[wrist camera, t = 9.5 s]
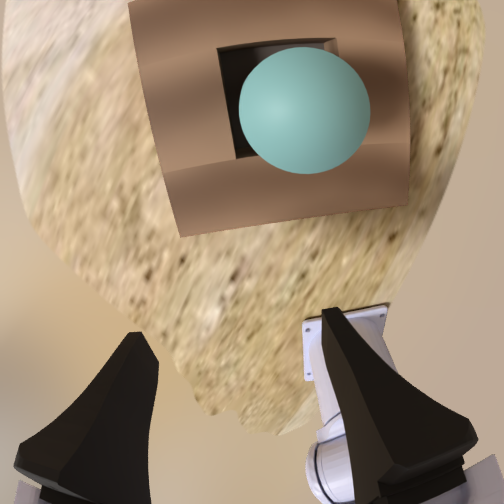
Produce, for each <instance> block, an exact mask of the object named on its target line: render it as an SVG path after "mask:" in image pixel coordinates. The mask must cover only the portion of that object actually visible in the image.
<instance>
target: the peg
mask: <svg viewBox="0 0 504 504" xmlns="http://www.w3.org/2000/svg"><path fill="white" fill-rule="evenodd" d="M239 117H240V123H241V126H242V130H243V132H244V135H245V137H246V139H247V140H248V142H249V144H250V145H251V147H252V148H253V149H254V150H255V152H256V153H257V154H258V155H259V156H261V157H262V158H263V159H264V160H265V161H267V162H268V163H270V164H271V165H273V166H275V167H277V168H279V169H282V170H285V171H288V172H292V173H299V174H313V173H320V172H324V171H327V170H330V169H333V168H335V167H337V166H339V165H340V164H342V163H343V162H345V161H346V160H347V159H349V158H350V157H351V156H352V155H353V154H354V153H355V152H356V151H357V149H358V148H359V147H360V145H361V144H362V142H363V140H364V138H365V136H366V133H367V130H368V127H369V122H370V102H369V97H368V94H367V90H366V88H365V86H364V84H363V82H362V80H361V78H360V77H359V75H358V74H357V73H356V72H355V70H354V69H353V68H352V67H351V66H350V65H349V64H348V63H346V62H345V61H344V60H342V59H341V58H339V57H338V56H336V55H334V54H332V53H330V52H327V51H324V50H321V49H316V48H309V47H296V48H290V49H286V50H282V51H279V52H277V53H275V54H273V55H271V56H269V57H268V58H266V59H265V60H263V61H262V62H261V63H260V64H259V65H257V66H256V67H255V68H254V70H253V71H252V72H251V73H250V74H249V75H248V76H247V78H246V80H245V81H244V84H243V87H242V90H241V95H240V102H239Z"/></svg>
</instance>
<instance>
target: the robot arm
mask: <svg viewBox="0 0 504 504" xmlns="http://www.w3.org/2000/svg"><path fill="white" fill-rule="evenodd" d="M387 311H388V309H387V307H386V306H385V305H381V306H376V307H372V308H367V309H362V310H357V311H352V312H347V313H342V311H341V310H340V308H338V307H333V308H328V309H322V317H320V318H314V319H308V320H305V321H303V323H302V336H303V357H304V379H305V380H306V381H313V380H314V383H315V388H316V392H317V397H318V402H319V407H320V412H321V417H322V422H323V428H321V429H319V430H317V431H316V433H317V438H318V441H317V442H315V443H313V444H312V445H311V447H310V449H309V452H308V455H307V458H306V476H307V480H308V483H309V486H310V488H311V490H312V492H313V494H314V495H315V496H316V497H317V499H318V500H320V501H321V502H322V503H323V504H504V479H503V476H502V473H501V470H500V468H499V465H498V462H497V459H496V457H495V454H492V455H490V456H489V457H487V458H485V459H484V460H482V461H480V462H478V463H477V464H475V465H473V466H471V467H469V468H468V469H466V470H464V471H463V468H462V465H463V464H464V459H463V455H464V454H465V453H466V452H467V451H469V450H470V449H471V448H472V447H473V446H475V444H476V443H477V441H478V437H477V434H476V432H475V430H474V428H473V426H472V424H471V422H470V421H469V419H468V418H466V417H464V416H462V415H460V414H458V413H456V412H454V411H452V410H450V409H448V408H446V407H445V406H443V405H441V404H440V403H438V402H436V401H434V400H433V399H432V398H430V397H428V396H427V395H426V394H424V393H423V392H421V391H420V390H418V389H417V388H416V387H414V386H412V384H410V383H409V382H407V381H406V380H405V379H404V378H403V377H401V376H400V375H399V374H398V372H397V370H396V367H395V365H394V362H393V360H392V358H391V355H390V353H389V351H388V349H387V346H386V344H385V342H384V340H383V337H382V335H383V330H384V326H385V321H386V316H387ZM307 328H309V329H307ZM158 371H159V361H158V360H157V358H156V356H155V355H154V353H153V351H152V350H151V348H150V346H149V344H148V343H147V341H146V339H145V337H144V335H143V334H142V332H129V333H128V334H127V335H126V337H125V338H124V339H123V340H122V342H121V343H120V345H119V346H118V348H117V349H116V350H115V351H114V353H113V354H112V356H111V357H110V358H109V360H108V361H107V362H106V364H105V365H104V366H103V368H102V369H101V370H100V372H99V373H98V374H97V375H96V377H95V378H94V379H93V380H92V382H91V383H90V384H89V385H88V387H87V388H86V389H85V390H84V391H83V393H82V394H81V395H80V396H79V397H78V398H77V399H76V400H75V401H74V402H73V403H72V404H71V405H70V406H69V407H68V408H67V409H66V410H65V411H64V412H63V413H62V414H61V415H60V416H58V417H57V418H56V419H55V420H54V421H53V422H52V423H50V424H49V425H48V426H46V427H45V428H44V429H42V430H41V431H40V432H38V433H37V434H35V435H34V436H32V437H30V438H29V439H27V440H25V441H24V442H23V443H20V445H19V448H18V452H17V455H16V459H15V462H14V468H15V469H16V470H17V471H18V472H20V473H22V474H23V475H25V476H27V477H28V478H30V479H32V480H34V481H35V482H37V483H39V484H41V485H42V488H41V489H39V488H37V487H34V486H32V485H30V484H28V483H26V482H23V481H21V480H19V482H18V487H17V492H16V496H15V501H14V504H151V497H150V489H149V475H148V440H149V429H150V422H151V417H152V412H153V406H154V401H155V396H156V390H157V384H158Z"/></svg>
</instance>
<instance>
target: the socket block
mask: <svg viewBox="0 0 504 504" xmlns="http://www.w3.org/2000/svg"><path fill="white" fill-rule="evenodd" d="M128 8H129V14H130V21H131V28H132V34H133V40H134V46H135V51H136V57H137V62H138V68H139V73H140V78H141V83H142V88H143V93H144V97H145V102H146V107H147V111H148V116H149V120H150V125H151V129H152V133H153V137H154V142H155V146H156V150H157V154H158V158H159V162H160V166H161V170H162V173H163V177H164V181H165V185H166V188H167V192H168V196H169V199H170V203H171V207H172V210H173V214H174V217H175V221H176V224H177V227H178V231H179V234H180V238H181V237H187V236H193V235H199V234H205V233H211V232H217V231H224V230H230V229H236V228H243V227H249V226H256V225H262V224H269V223H276V222H283V221H290V220H297V219H304V218H311V217H318V216H325V215H333V214H340V213H348V212H355V211H363V210H371V209H379V208H387V207H395V206H404V205H408V191H409V173H410V106H409V88H408V75H407V65H406V55H405V47H404V40H403V33H402V27H401V21H400V15H399V10H398V5H397V0H135V1H132V2H129V3H128ZM296 47H309V48H316V49H321V50H324V51H327V52H330V53H332V54H334V55H336V56H338V57H339V58H341V59H342V60H344V61H345V62H346V63H348V64H349V65H350V66H351V67H352V68H353V69H354V70H355V72H356V73H357V74H358V75H359V77H360V78H361V80H362V82H363V84H364V86H365V88H366V90H367V94H368V97H369V102H370V122H369V127H368V130H367V133H366V136H365V138H364V140H363V142H362V144H361V145H360V147H359V148H358V149H357V151H356V152H355V153H354V154H353V155H352V156H351V157H350V158H349V159H347V160H346V161H345V162H343V163H342V164H340V165H339V166H337V167H335V168H333V169H330V170H327V171H324V172H320V173H313V174H299V173H292V172H288V171H285V170H282V169H279V168H277V167H275V166H273V165H271V164H270V163H268V162H267V161H265V160H264V159H263V158H262V157H261V156H259V155H258V154H257V153H256V152H255V150H254V149H253V148H252V147H251V145H250V144H249V142H248V140H247V139H246V137H245V135H244V132H243V130H242V126H241V123H240V117H239V102H240V95H241V90H242V87H243V84H244V81H245V80H246V78H247V76H248V75H249V74H250V73H251V72H252V71H253V70H254V68H255V67H256V66H257V65H259V64H260V63H261V62H262V61H263V60H265V59H266V58H268V57H269V56H271V55H273V54H275V53H277V52H279V51H282V50H286V49H290V48H296Z"/></svg>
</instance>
